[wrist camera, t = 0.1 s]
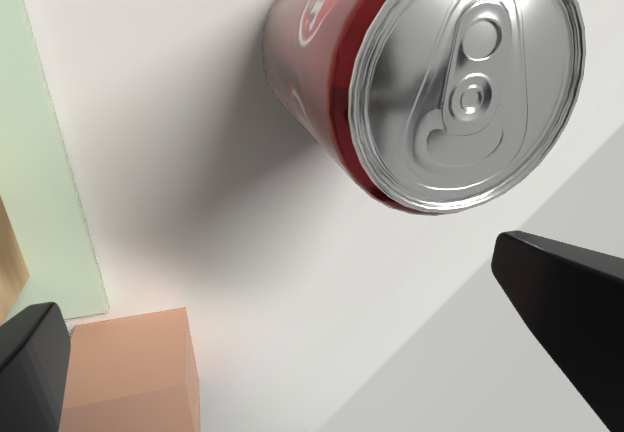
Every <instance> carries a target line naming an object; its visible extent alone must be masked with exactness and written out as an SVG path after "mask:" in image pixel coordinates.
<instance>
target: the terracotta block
mask: <svg viewBox="0 0 624 432" xmlns="http://www.w3.org/2000/svg"><path fill="white" fill-rule="evenodd" d="M70 341H71V351H70V358H69V365H68V372H67V379H66V386H65V393H64V400H63V407H62V414H61V420H60V426H59V431H58V432H200V404H199V379H198V373H197V368H196V362H195V357H194V351H193V346H192V340H191V335H190V330H189V324H188V319H187V313H186V308H185V307H184V308H178V309H172V310H166V311H160V312H154V313H148V314H142V315H136V316H130V317H124V318H118V319H112V320H106V321H100V322H94V323H88V324H82V325H76V326H75V328H74V331H73V334H72V337H71V340H70Z"/></svg>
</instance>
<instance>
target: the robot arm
mask: <svg viewBox="0 0 624 432" xmlns="http://www.w3.org/2000/svg"><path fill="white" fill-rule="evenodd" d="M491 268H492V272H493V275H494V277H495V278H496V280H497V281H498V283H499V284H500V286H501V287H502V289H503V290H504V292H505V293H506V295H507V296H508V298H509V300H510V301H511V303H512V304H513V306H514V307H515V309H516V310H517V312H518V313H519V315H520V316H521V318H522V320H523V321H524V323H525V324H526V325H527V327H528V328H529V330H530V331H531V332H532V334H533V335H534V336H535V338H536V339H537V340H538V341H539V343H540V344H541V345H542V346H543V348H544V349H545V350H546V351H547V353H548V354H549V355H550V356H551V358H552V359H553V360H554V362H555V363H556V364H557V365H558V366H559V368H560V369H561V370H562V372H563V373H564V374H565V375H566V377H567V378H568V379H569V380H570V382H571V383H572V384H573V385H574V387H575V388H576V389H577V390H578V392H579V393H580V394H581V395H582V397H583V398H584V399H585V400H586V402H587V403H588V404H589V405H590V407H591V408H592V409H593V410H594V412H595V413H596V414H597V415H598V417H599V418H600V419H601V420H602V422H603V423H604V424H605V425H606V427H607V428H608V429H609V430H610V432H624V259H622V258H619V257H615V256H611V255H607V254H604V253H600V252H596V251H592V250H589V249H585V248H581V247H577V246H574V245H570V244H567V243H563V242H559V241H555V240H552V239H548V238H544V237H540V236H537V235H533V234H529V233H526V232H522V231H509V232H503V233H501V234H499V235H498V237H497V239H496V243H495V248H494V253H493V258H492V263H491ZM70 351H71V341H70V336H69V333H68V330H67V327H66V324H65V321H64V319H63V316H62V313H61V310H60V307H59V306H58V304H57V303H55V302H45V303H38V304H32V305H29V306H27V307H26V308H24V309H23V310H22V311H20V312H19V313H18V314H16V315H15V316H13V317H12V318H11V319H9V320H8V321H7V322H5V323H4V324H2V325H1V326H0V432H58V431H59V426H60V420H61V414H62V407H63V400H64V393H65V386H66V379H67V372H68V365H69V358H70Z"/></svg>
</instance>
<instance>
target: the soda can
mask: <svg viewBox="0 0 624 432" xmlns="http://www.w3.org/2000/svg"><path fill="white" fill-rule="evenodd" d="M585 56H586V44H585V27H584V23H583V19H582V15H581V11H580V7H579V3H578V1H577V0H275V2H274V4H273V6H272V7H271V9H270V11H269V14H268V17H267V20H266V23H265V26H264V30H263V38H262V61H263V66H264V70H265V74H266V78H267V80H268V82H269V84H270V86H271V89H272V91H273V92H274V94H275V95H276V96H277V98H278V99H279V101H280V102H281V103H282V104H283V106H284V107H285V108H286V109H287V110H288V111H289V112H290V113H291V114H292V115H293V116H294V117H295V118H296V120H297V121H298V122H299V123H300V124H301V125H302V126H303V127H304V128H305V129H306V130H307V131H308V132H309V134H310V135H311V136H312V137H313V138H314V139H315V140H316V141H317V142H318V143H319V144H320V145H321V146H322V148H323V149H324V150H325V151H326V152H327V153H328V154H329V155H330V156H331V157H332V158H333V159H334V161H335V162H336V163H337V164H338V165H339V166H340V167H341V168H342V169H343V170H344V171H345V172H346V173H347V175H348V176H349V177H350V178H351V179H352V180H353V181H354V182H355V183H356V184H357V185H358V186H359V187H360V188H361V189H363V190H364V191H365V192H366V193H367V194H368V195H369V196H370V197H371V198H373V199H375V200H377V201H378V202H380V203H382V204H384V205H386V206H387V207H389V208H392V209H396V210H399V211H402V212H406V213H409V214H417V215H432V216H436V215H444V214H451V213H457V212H460V211H463V210H467V209H470V208H473V207H476V206H479V205H482V204H485V203H487V202H489V201H491V200H493V199H495V198H496V197H498V196H500V195H502V194H504V193H506V192H507V191H508V190H510V189H511V188H513V187H514V186H515V185H517V184H518V183H520V182H521V181H522V180H523V179H524V178H526V177H527V176H528V175H529V174H530V173H531V172H532V171H533V170H534V169H535V168H536V167H537V166H538V165H539V164H540V163H541V162H542V160H543V159H544V158H545V156H546V155H547V154H548V153H549V151H550V150H551V149H552V148H553V146H554V145H555V143H556V142H557V140H558V138H559V137H560V135H561V133H562V132H563V130H564V128H565V127H566V125H567V123H568V120H569V118H570V116H571V113H572V111H573V109H574V106H575V104H576V102H577V98H578V95H579V91H580V87H581V83H582V79H583V75H584V65H585Z"/></svg>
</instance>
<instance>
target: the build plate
mask: <svg viewBox="0 0 624 432" xmlns="http://www.w3.org/2000/svg"><path fill="white" fill-rule="evenodd" d="M0 196H1V199H2V201H3V204H4V207H5V210H6V212H7V215H8V218H9V220H10V223H11V226H12V228H13V231H14V234H15V237H16V239H17V242H18V245H19V247H20V250H21V253H22V255H23V258H24V261H25V263H26V266H27V269H28V272H29V274H30V277H29V278H28V280H27V282H26V284H25V285H24V287H23V289H22V291H21V292H20V294H19V296H18V298H17V299H16V301H15V303H14V305H13V306H12V308H11V310H10V312H9V313H8V315H7V317H6V319H5V320H4V322H3V324H4V323H5V322H7V321H8V320H9V319H11V318H12V317H13V316H15V315H16V314H18V313H19V312H20V311H22V310H23V309H24V308H26V307H27V306H29V305H32V304H38V303H45V302H55V303H57V304H58V306H59V307H60V310H61V313H62V316H63V319H64V320H65V319H71V318H77V317H83V316H89V315H95V314H102V313H108V309H109V303H108V300H107V296H106V292H105V289H104V285H103V282H102V278H101V275H100V271H99V268H98V264H97V261H96V257H95V253H94V250H93V246H92V243H91V239H90V236H89V232H88V229H87V225H86V221H85V218H84V214H83V211H82V207H81V204H80V200H79V197H78V193H77V190H76V186H75V182H74V179H73V175H72V172H71V168H70V165H69V161H68V158H67V154H66V151H65V147H64V143H63V140H62V136H61V133H60V129H59V126H58V122H57V119H56V115H55V111H54V108H53V104H52V101H51V97H50V94H49V90H48V87H47V83H46V80H45V76H44V72H43V69H42V65H41V62H40V58H39V55H38V51H37V48H36V44H35V40H34V37H33V33H32V30H31V26H30V23H29V19H28V16H27V12H26V9H25V5H24V1H23V0H0Z"/></svg>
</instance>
